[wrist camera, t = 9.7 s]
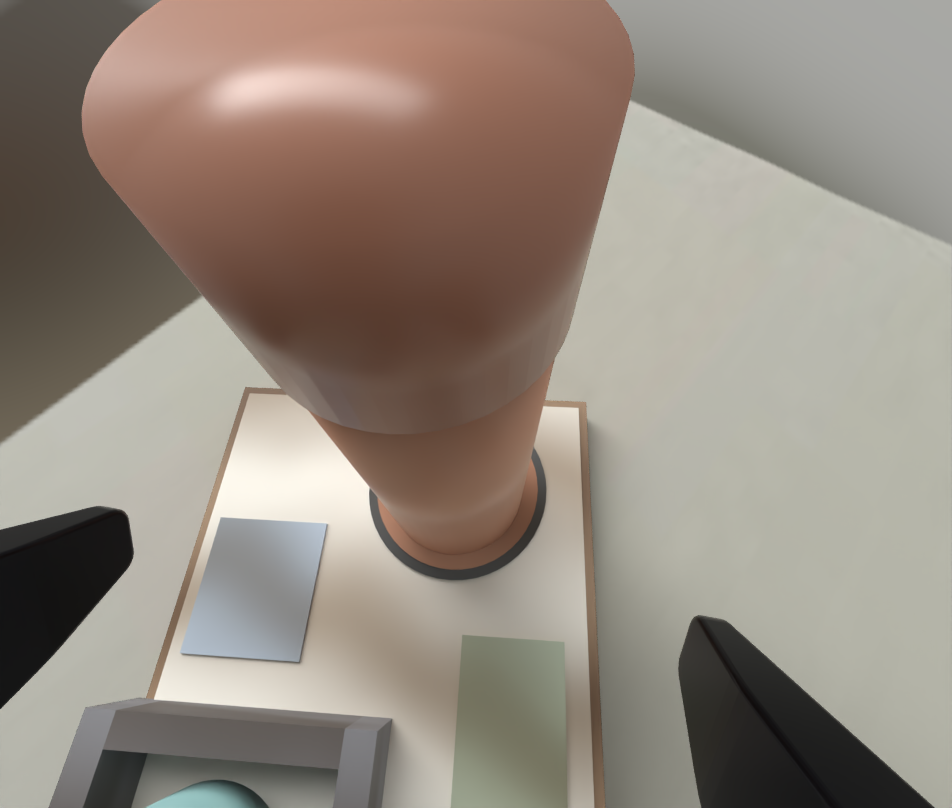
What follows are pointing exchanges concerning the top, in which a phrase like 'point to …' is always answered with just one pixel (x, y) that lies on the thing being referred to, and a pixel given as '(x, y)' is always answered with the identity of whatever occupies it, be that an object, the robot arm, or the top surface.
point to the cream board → (365, 643)
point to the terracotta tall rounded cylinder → (380, 213)
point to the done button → (212, 796)
